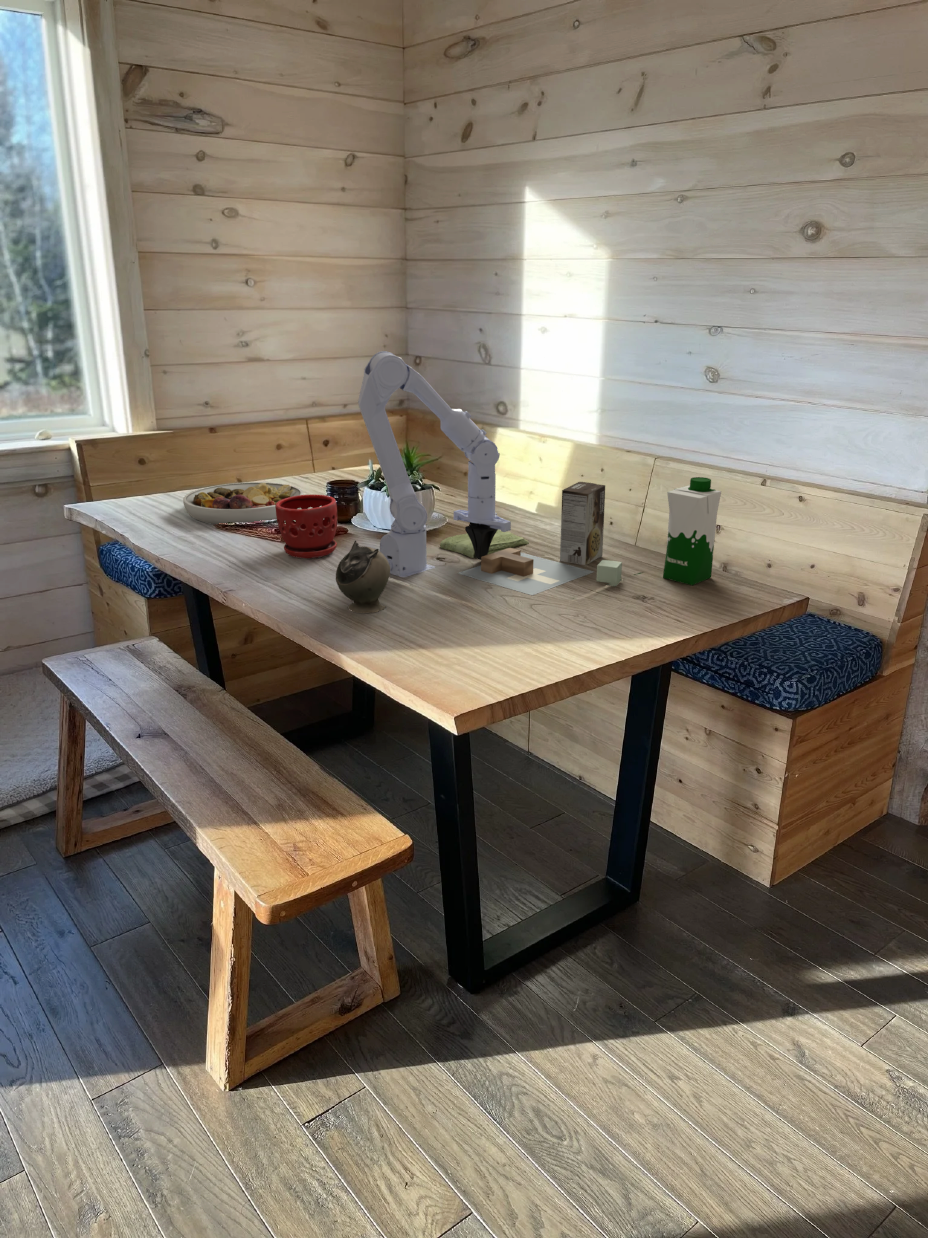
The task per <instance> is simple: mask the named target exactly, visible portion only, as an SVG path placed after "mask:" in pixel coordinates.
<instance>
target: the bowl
mask: <svg viewBox="0 0 928 1238" xmlns="http://www.w3.org/2000/svg"><path fill="white" fill-rule="evenodd" d="M299 495H304V491H303V490H302V488H301V489H300V488H299V487H296V486H294V485H290V484H287V483H280V482H279V483H278V482H266V481H265V482H264V481H263V482H260V481H255V482H254V481H252V482H251V481H250V482H232V483H225V484H224V483H223V484H217V485H211V486H207V487H206V486H205V487H203V488H198V489H195V490H193V491H191V492H189V493H186V495H184V497H183V499H182V501H183V503H182V504H183V507H184V509H185V511H186V513H187V514H188V515H189V516H190V517H191V518H193V519H195V520H197V522H198V521H199V522H201V523H204V522H205V524H208V523H211V524H210V525H215V524H219V523H227V522H254V521H260V520H261V521H262V520H272V519H277V517H276V508H275V505H276V503H277V502H278V501H280V500H282V499H285V498H289V497H293V496H299ZM297 509H301V508H297Z"/></svg>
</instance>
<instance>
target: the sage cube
mask: <svg viewBox="0 0 928 1238" xmlns="http://www.w3.org/2000/svg"><path fill="white" fill-rule="evenodd" d="M622 571H623V561H617V560H608V559H602V560H601V561H599V563H598V564H597V565H596V582H599V583H600V582H601V583H607V584H605V586H608V587H609V586H611V587H617V586H618V585H619V583H620V582H621V581H622Z"/></svg>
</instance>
